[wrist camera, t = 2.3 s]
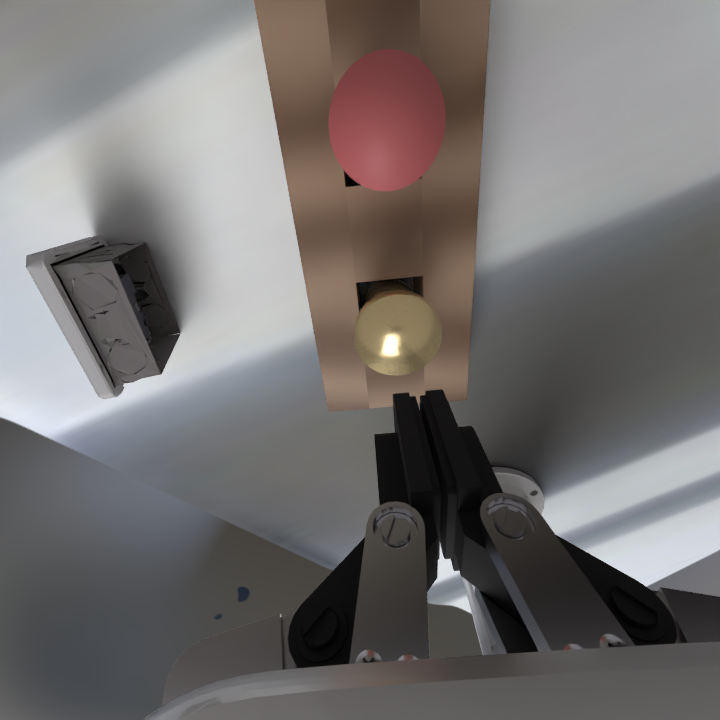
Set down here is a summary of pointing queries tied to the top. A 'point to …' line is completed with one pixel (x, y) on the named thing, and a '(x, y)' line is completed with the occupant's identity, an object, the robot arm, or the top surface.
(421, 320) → the brass plug
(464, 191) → the plug block
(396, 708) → the robot arm
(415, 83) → the oxblood plug
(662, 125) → the top surface
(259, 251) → the top surface
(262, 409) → the top surface
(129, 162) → the top surface
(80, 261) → the electrical switch
